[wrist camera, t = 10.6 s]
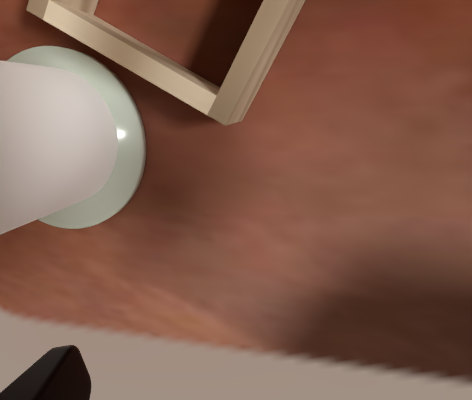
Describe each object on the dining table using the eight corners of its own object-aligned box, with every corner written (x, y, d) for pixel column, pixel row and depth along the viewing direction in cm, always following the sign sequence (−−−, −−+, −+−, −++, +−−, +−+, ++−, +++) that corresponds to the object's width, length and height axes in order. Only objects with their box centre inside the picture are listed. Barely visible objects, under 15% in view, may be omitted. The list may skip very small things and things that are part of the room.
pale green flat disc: (175, 105, 18) (170, 105, 17) (107, 255, 21) (100, 259, 20) (17, 12, 19) (7, 10, 18) (-28, 171, 22) (-37, 173, 21)
